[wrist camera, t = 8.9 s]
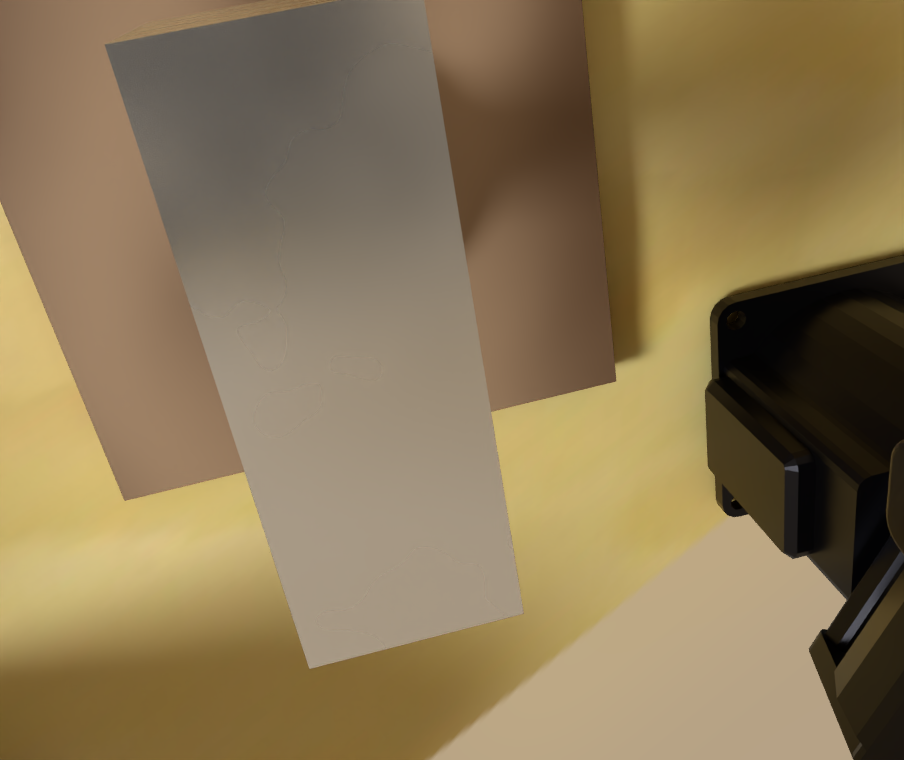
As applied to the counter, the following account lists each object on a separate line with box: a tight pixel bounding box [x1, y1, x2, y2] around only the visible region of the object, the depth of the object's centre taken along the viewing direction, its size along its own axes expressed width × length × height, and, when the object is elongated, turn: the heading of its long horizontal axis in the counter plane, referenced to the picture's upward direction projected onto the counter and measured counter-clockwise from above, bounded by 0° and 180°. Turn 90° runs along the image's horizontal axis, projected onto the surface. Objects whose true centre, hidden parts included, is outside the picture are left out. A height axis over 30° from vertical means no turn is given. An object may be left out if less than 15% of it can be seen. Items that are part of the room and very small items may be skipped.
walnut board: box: [0, 0, 616, 501], centre depth 18 cm, size 12×12×1 cm
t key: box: [105, 0, 524, 669], centre depth 14 cm, size 8×5×9 cm, turn 9°
